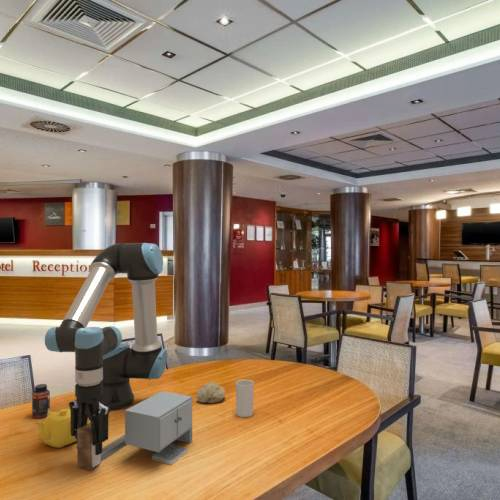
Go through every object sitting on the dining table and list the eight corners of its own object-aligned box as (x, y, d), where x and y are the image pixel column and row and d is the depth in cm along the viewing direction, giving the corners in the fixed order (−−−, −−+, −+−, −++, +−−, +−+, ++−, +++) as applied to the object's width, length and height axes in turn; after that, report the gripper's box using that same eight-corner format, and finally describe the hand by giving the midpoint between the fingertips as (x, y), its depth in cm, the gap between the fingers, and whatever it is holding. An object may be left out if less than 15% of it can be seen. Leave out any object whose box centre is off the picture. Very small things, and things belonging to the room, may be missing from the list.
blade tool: (77, 467, 119) (77, 428, 119) (128, 435, 139) (128, 402, 139) (89, 470, 117) (89, 431, 117) (139, 438, 137) (139, 405, 137)
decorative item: (212, 398, 162) (196, 383, 168) (208, 415, 166) (191, 400, 171) (233, 386, 172) (216, 372, 177) (228, 403, 175) (212, 388, 180)
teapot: (78, 450, 129) (78, 417, 129) (33, 454, 127) (34, 420, 127) (87, 431, 142) (88, 401, 142) (47, 434, 140) (47, 403, 140)
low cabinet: (125, 459, 124) (125, 410, 124) (161, 434, 140) (161, 391, 140) (161, 468, 118) (161, 417, 118) (195, 441, 135) (195, 397, 135)
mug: (256, 416, 156) (256, 383, 155) (239, 419, 153) (239, 386, 153) (246, 406, 165) (246, 376, 165) (230, 409, 162) (230, 378, 162)
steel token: (151, 461, 124) (151, 455, 124) (168, 449, 131) (168, 443, 131) (171, 466, 121) (171, 460, 121) (187, 454, 128) (187, 448, 128)
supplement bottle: (53, 414, 157) (53, 384, 157) (39, 420, 151) (39, 389, 151) (42, 411, 159) (42, 382, 159) (28, 417, 154) (28, 386, 154)
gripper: (56, 381, 120) (56, 462, 121) (103, 390, 113) (103, 476, 113) (76, 374, 127) (77, 450, 127) (122, 382, 120) (122, 463, 120)
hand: (89, 462), depth 120 cm, fingers closed on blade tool, 4 cm apart
